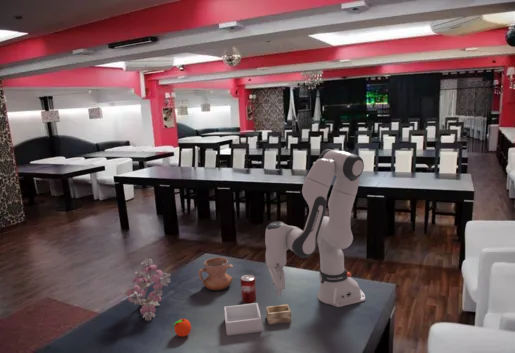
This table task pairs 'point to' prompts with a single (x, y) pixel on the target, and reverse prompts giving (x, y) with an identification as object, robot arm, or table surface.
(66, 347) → the table surface
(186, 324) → the clementine
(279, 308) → the birch crate
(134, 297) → the flower
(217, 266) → the ceramic jug
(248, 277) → the soda can
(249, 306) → the grey crate
